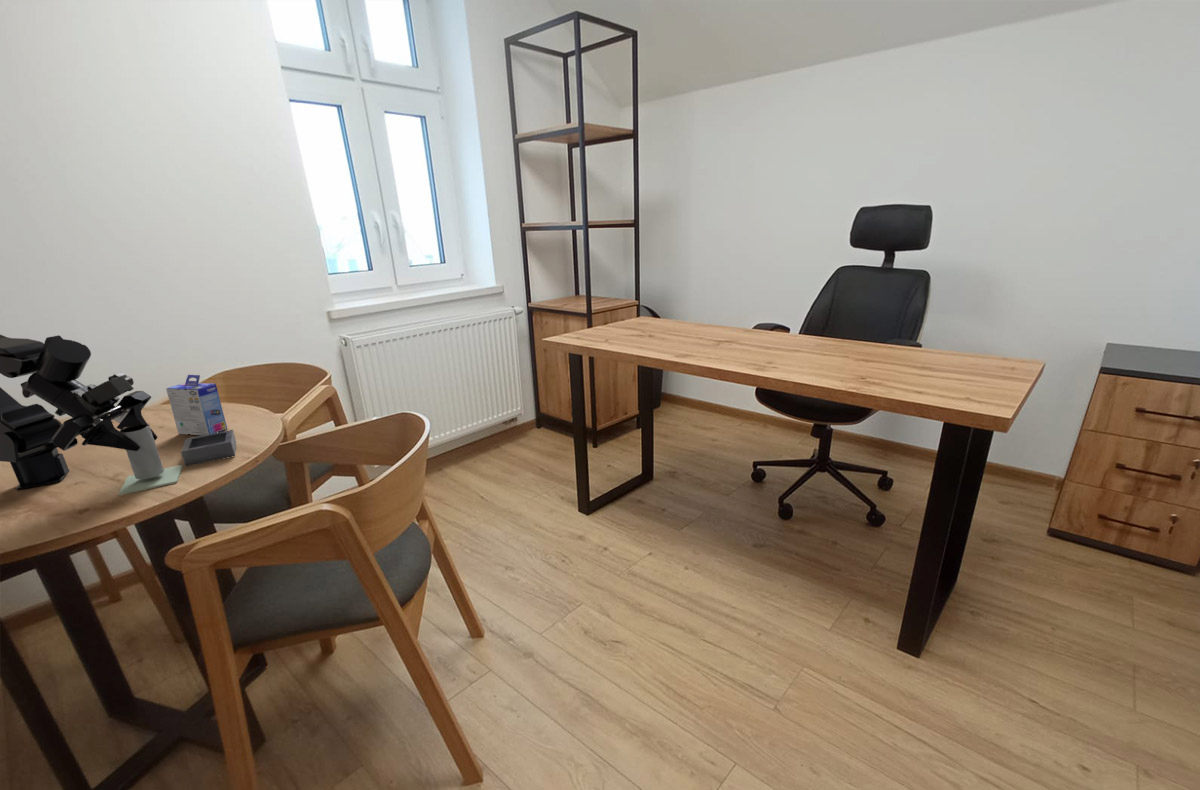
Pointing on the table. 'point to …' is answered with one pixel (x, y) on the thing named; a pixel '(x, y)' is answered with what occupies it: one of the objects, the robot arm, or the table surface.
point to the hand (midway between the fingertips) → (147, 444)
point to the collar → (208, 447)
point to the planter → (143, 452)
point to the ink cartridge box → (196, 407)
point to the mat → (151, 481)
